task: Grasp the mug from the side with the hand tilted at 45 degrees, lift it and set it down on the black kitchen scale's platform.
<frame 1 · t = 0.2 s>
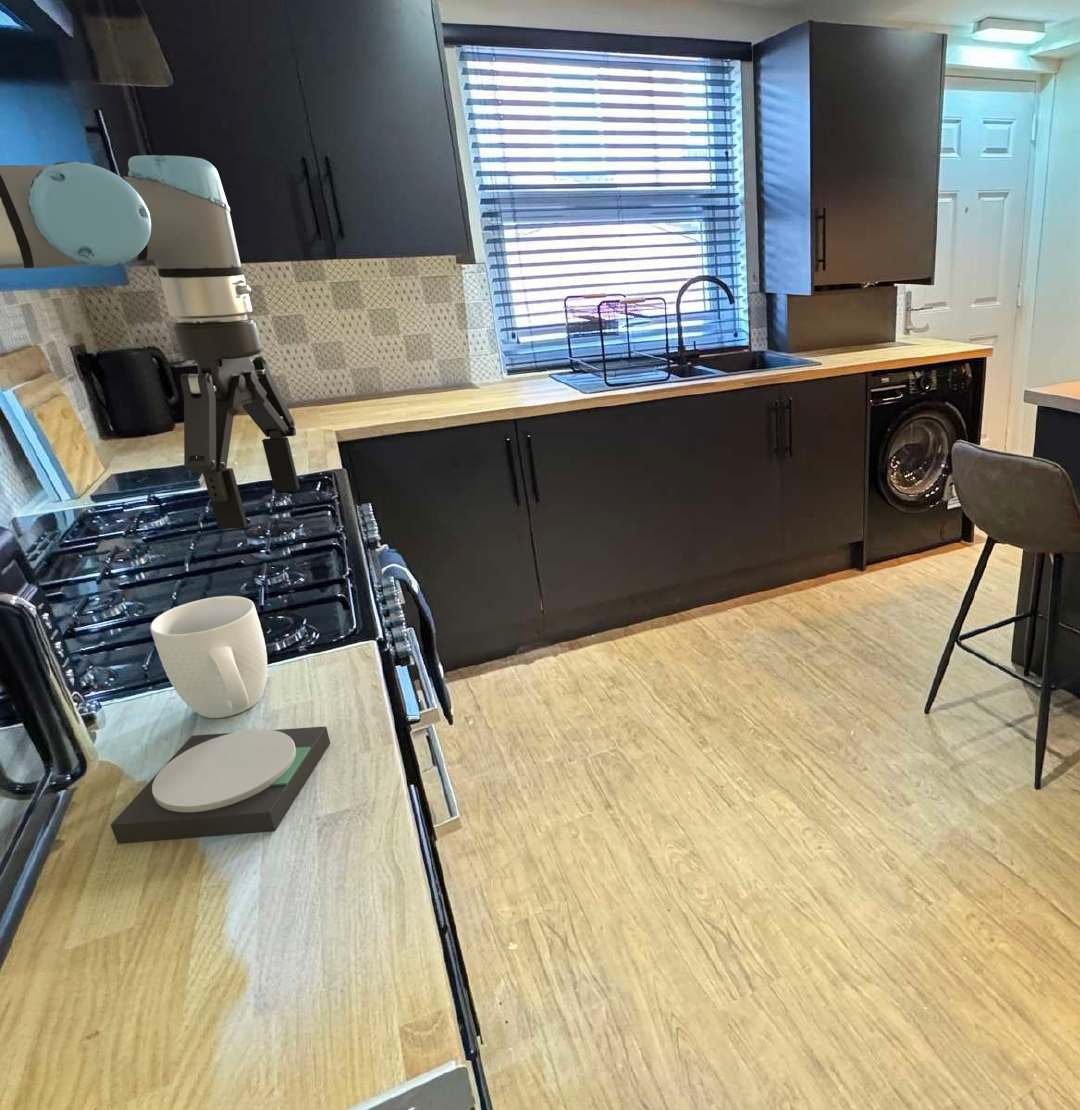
hand: (262, 507, 91), 27 cm above the table, tool pointing down, fingers open, 13 cm apart
mug: (233, 709, 100), on the table
scale: (233, 788, 85), on the table
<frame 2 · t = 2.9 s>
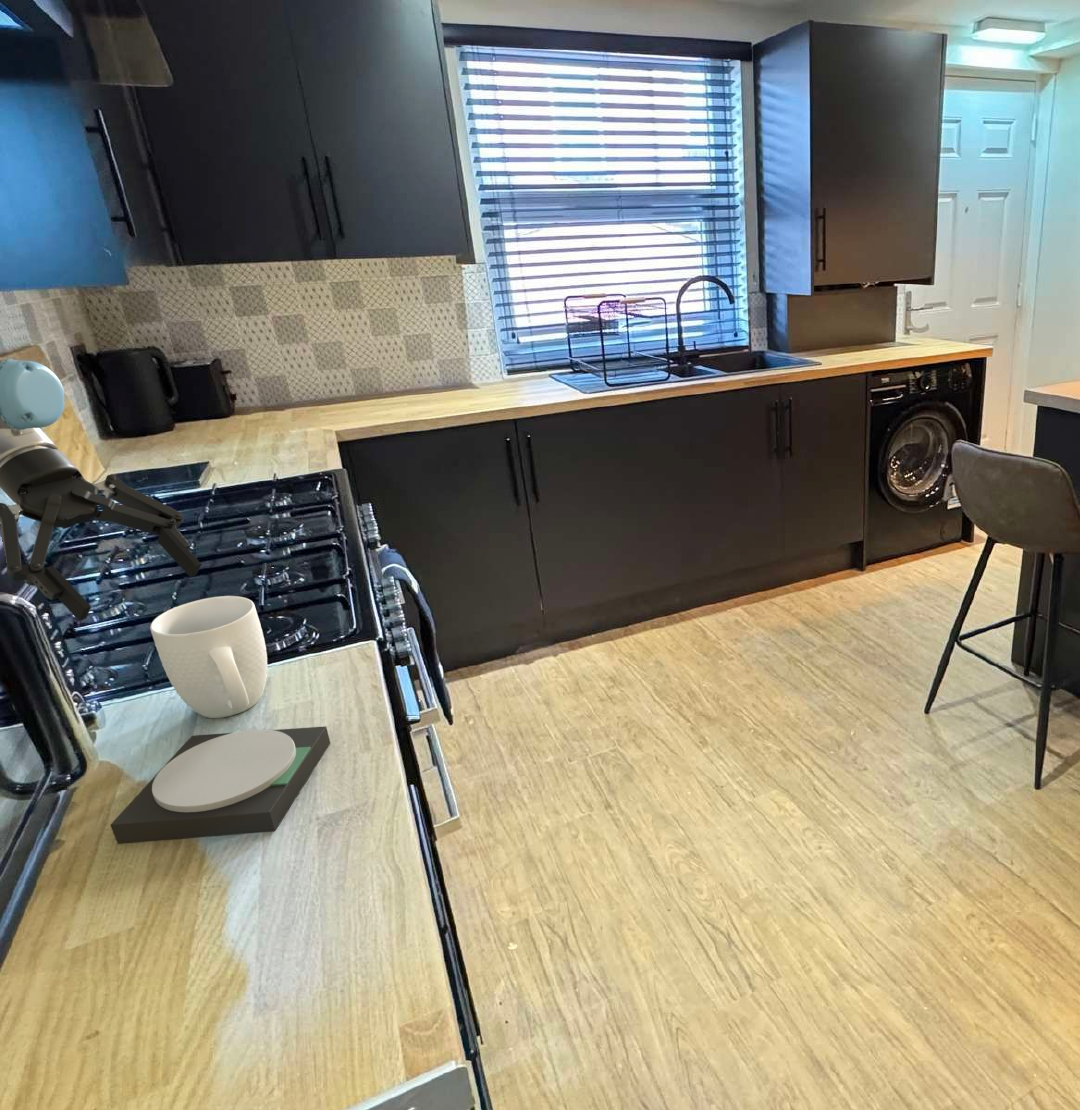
hand: (144, 591, 98), 15 cm above the table, tool tilted 45°, fingers open, 13 cm apart
nothing on the table moved.
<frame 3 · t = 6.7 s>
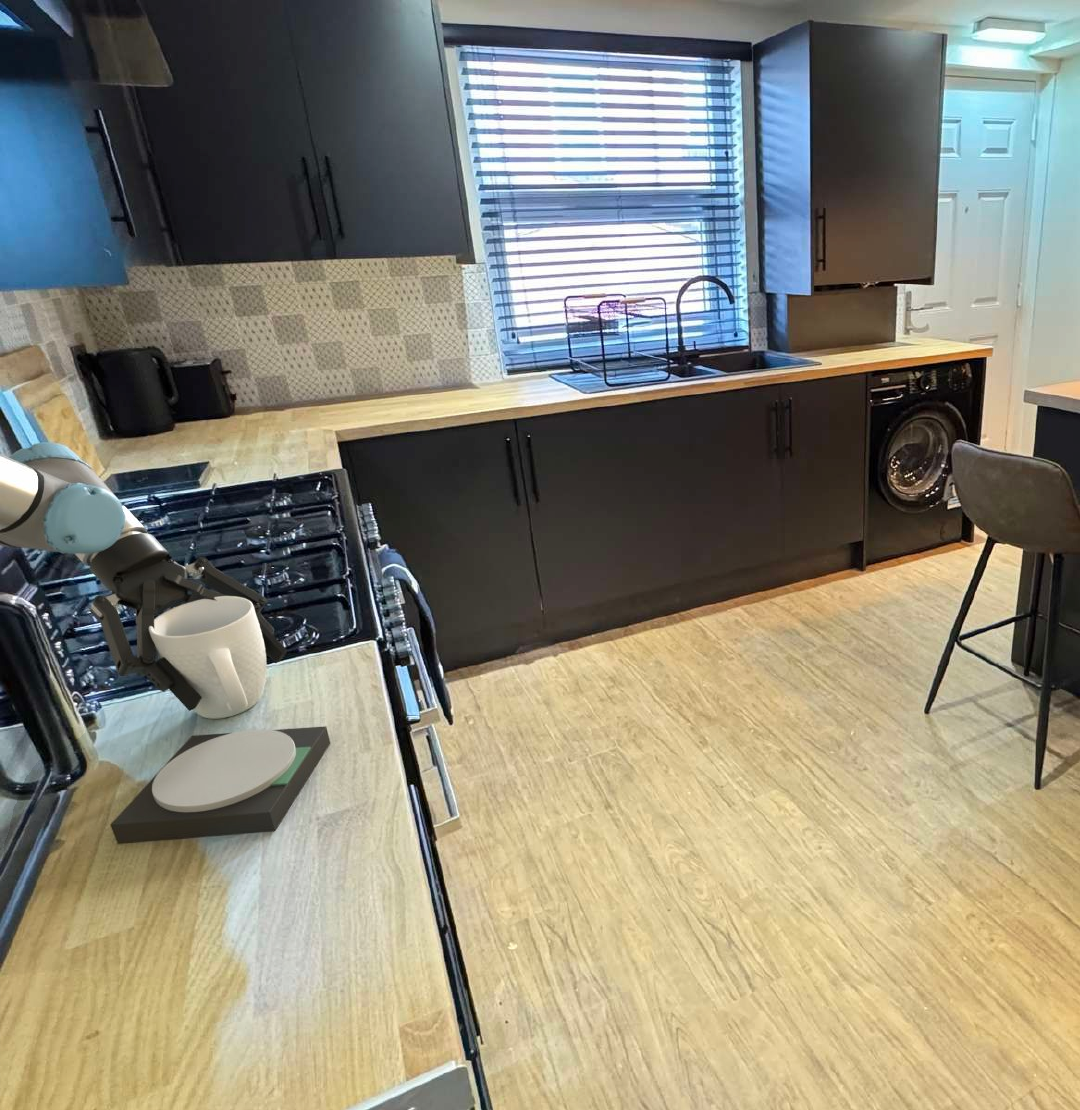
hand: (241, 679, 98), 5 cm above the table, tool tilted 45°, fingers closed on mug, 11 cm apart
mug: (232, 709, 100), on the table, touching gripper
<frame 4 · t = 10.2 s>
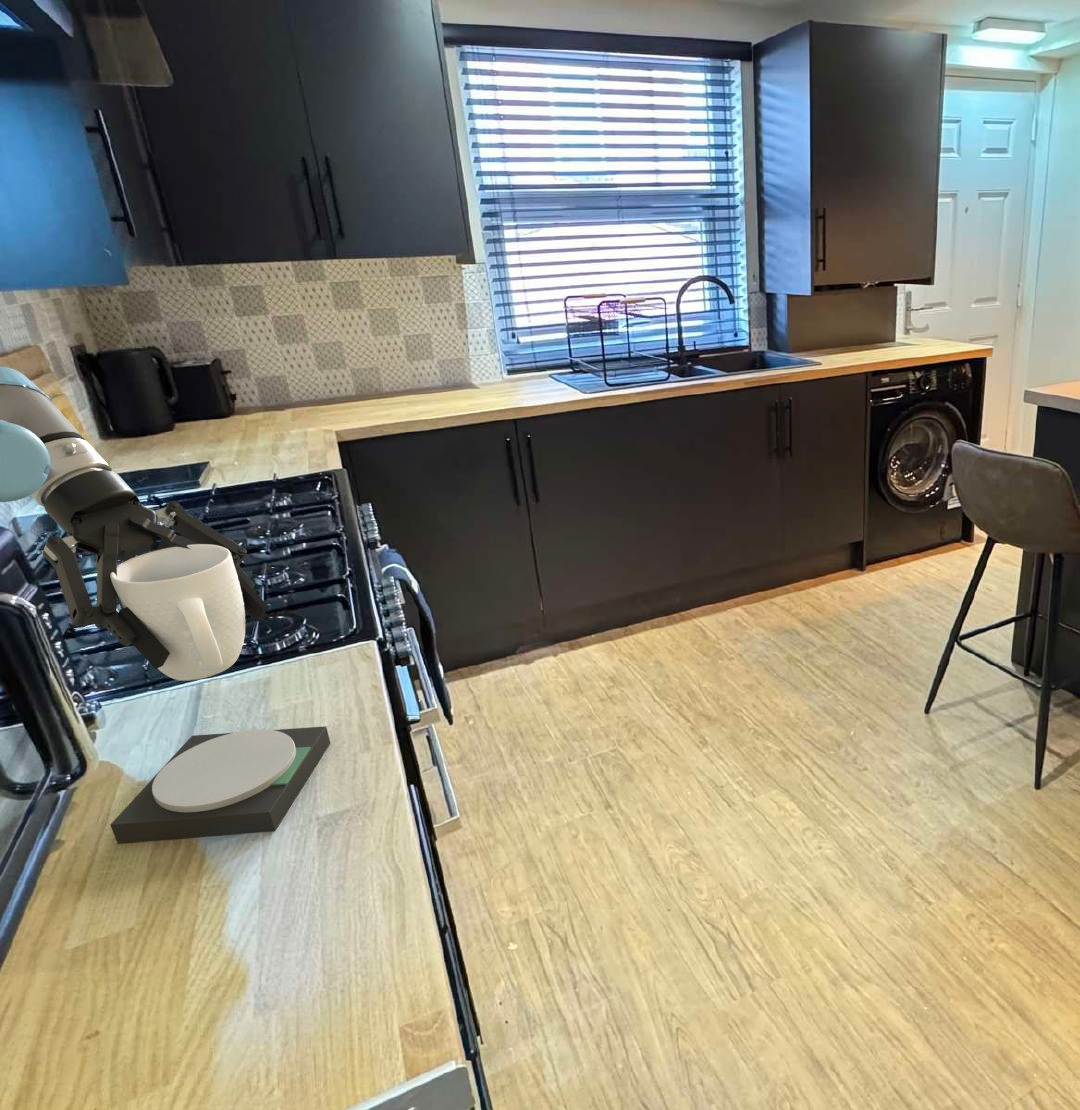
hand: (215, 636, 87), 15 cm above the table, tool tilted 45°, fingers closed on mug, 11 cm apart
mug: (206, 671, 89), point 10 cm above the table, touching gripper
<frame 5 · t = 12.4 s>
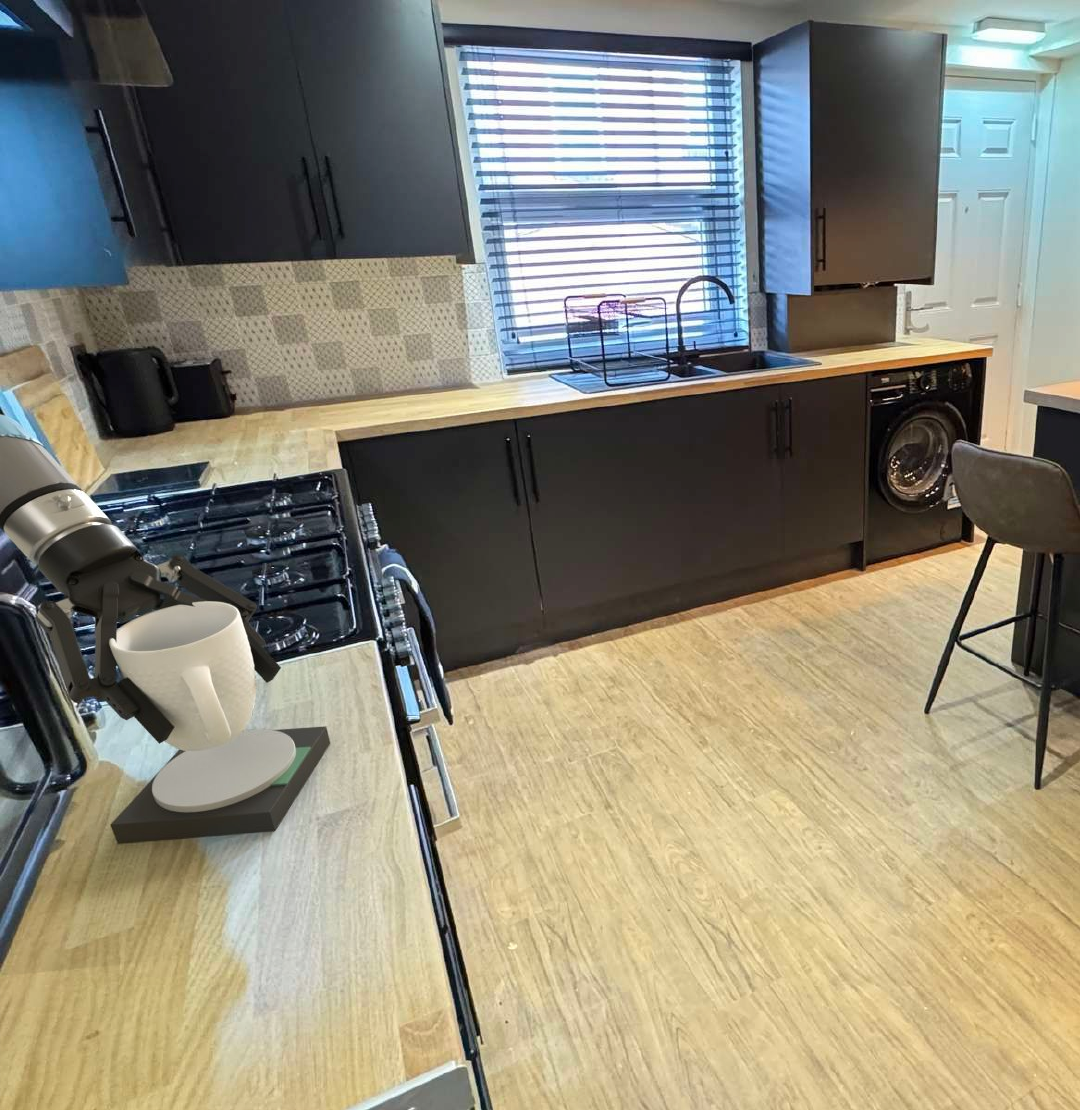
hand: (223, 703, 80), 12 cm above the table, tool tilted 45°, fingers closed on mug, 11 cm apart
mug: (214, 739, 82), point 7 cm above the table, touching gripper
when the fingers open (8 cm above the table, at t = 14.1 s): mug stays where it is, resting on scale.
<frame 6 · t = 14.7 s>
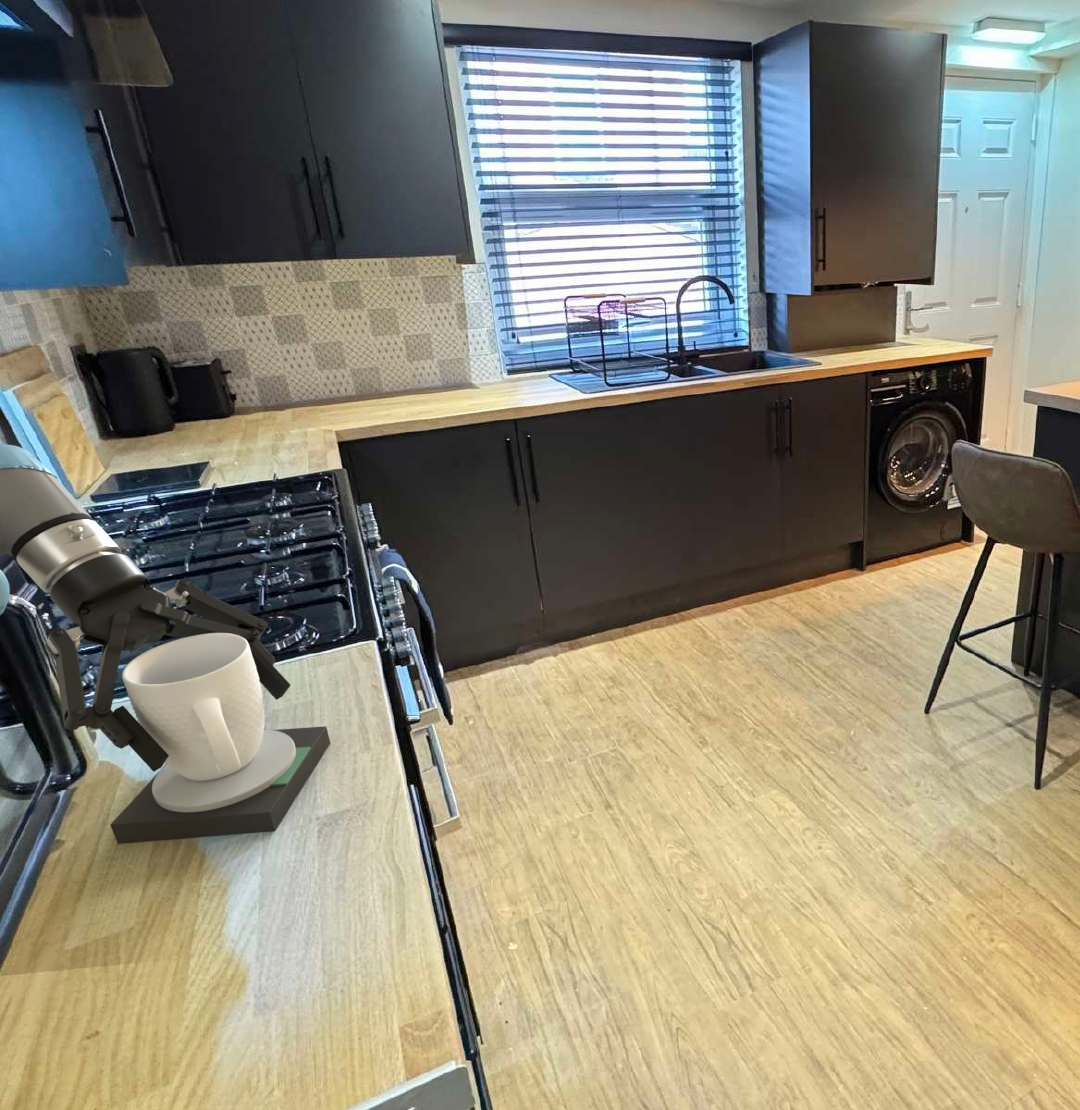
hand: (227, 725, 81), 9 cm above the table, tool tilted 45°, fingers open, 13 cm apart
mug: (223, 768, 84), point 3 cm above the table, touching scale
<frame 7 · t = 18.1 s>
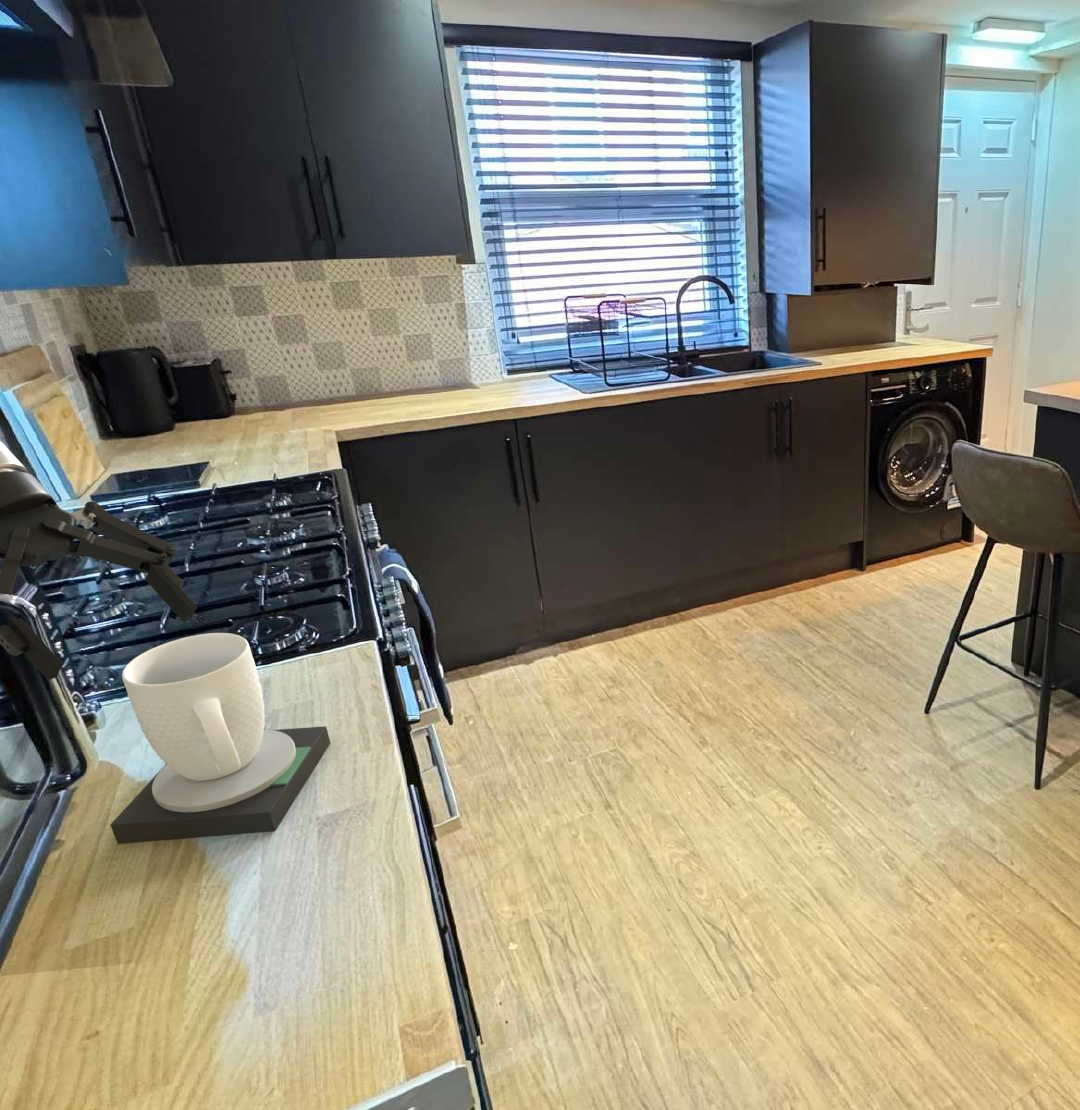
hand: (128, 641, 82), 17 cm above the table, tool tilted 45°, fingers open, 13 cm apart
nothing on the table moved.
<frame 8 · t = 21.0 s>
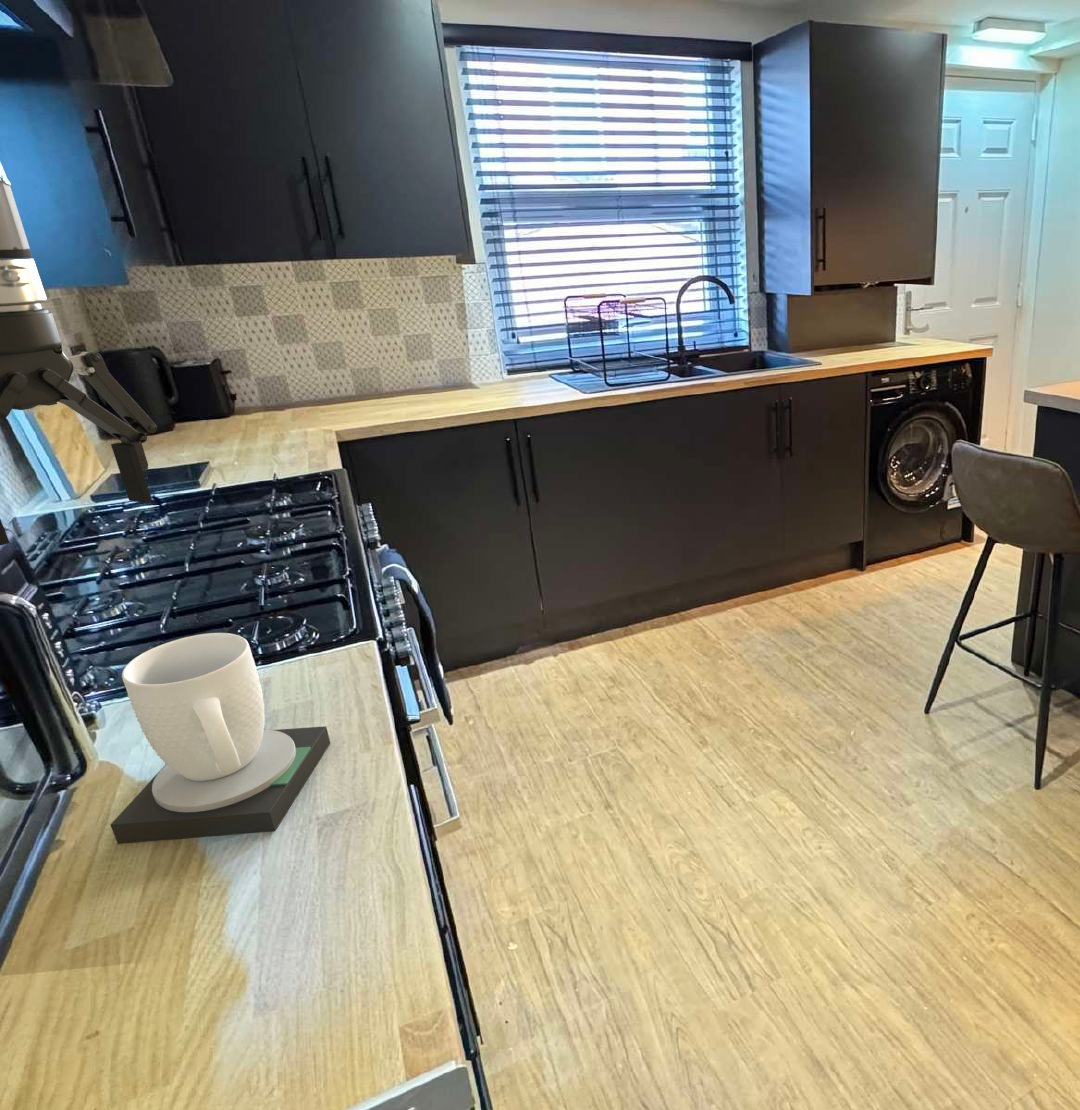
hand: (74, 520, 81), 29 cm above the table, tool pointing down, fingers open, 13 cm apart
nothing on the table moved.
at the end: mug inside the target area on the scale (0.3 cm from its centre), point 3.0 cm above the scale's base; mug tilted 0°; the gripper is holding nothing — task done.
